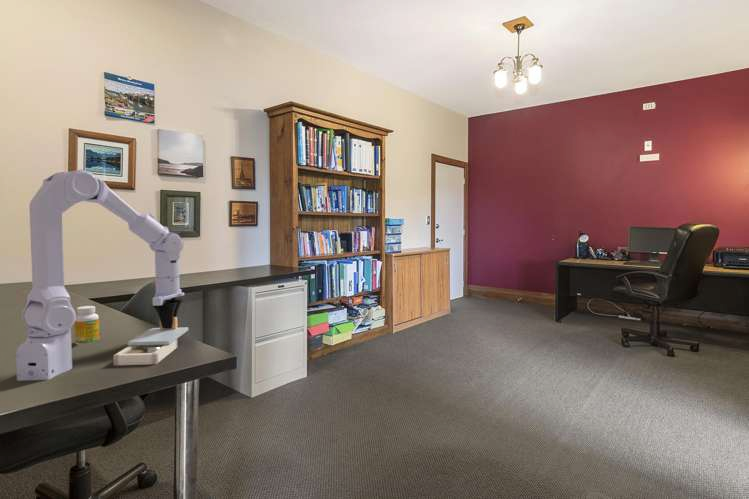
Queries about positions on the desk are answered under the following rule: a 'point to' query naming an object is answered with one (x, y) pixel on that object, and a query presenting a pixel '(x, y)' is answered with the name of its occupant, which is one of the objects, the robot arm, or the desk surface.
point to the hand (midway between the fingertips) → (168, 327)
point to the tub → (143, 354)
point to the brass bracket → (134, 352)
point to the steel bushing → (153, 349)
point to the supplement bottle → (86, 325)
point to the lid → (159, 335)
